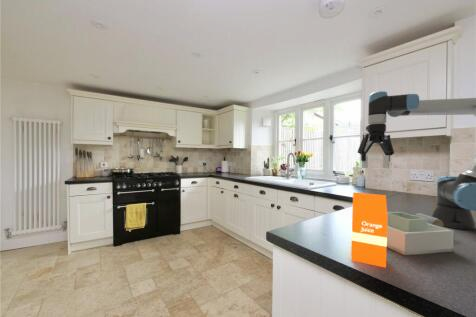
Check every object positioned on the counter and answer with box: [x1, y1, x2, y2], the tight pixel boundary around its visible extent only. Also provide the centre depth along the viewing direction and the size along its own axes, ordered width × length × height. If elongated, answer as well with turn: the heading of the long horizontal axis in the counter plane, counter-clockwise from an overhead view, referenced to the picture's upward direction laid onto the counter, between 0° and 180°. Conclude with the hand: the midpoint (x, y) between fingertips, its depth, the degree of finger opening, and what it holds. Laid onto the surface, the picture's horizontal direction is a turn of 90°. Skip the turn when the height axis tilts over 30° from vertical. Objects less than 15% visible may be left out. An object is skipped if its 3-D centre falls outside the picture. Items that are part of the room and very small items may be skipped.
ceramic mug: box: [414, 212, 445, 228], centre depth 91 cm, size 11×8×8 cm
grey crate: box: [387, 223, 455, 256], centre depth 80 cm, size 20×18×7 cm
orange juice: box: [350, 192, 388, 268], centre depth 66 cm, size 8×9×20 cm
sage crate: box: [387, 211, 428, 232], centre depth 80 cm, size 8×10×9 cm
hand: (375, 168), depth 106 cm, fingers open, 12 cm apart
